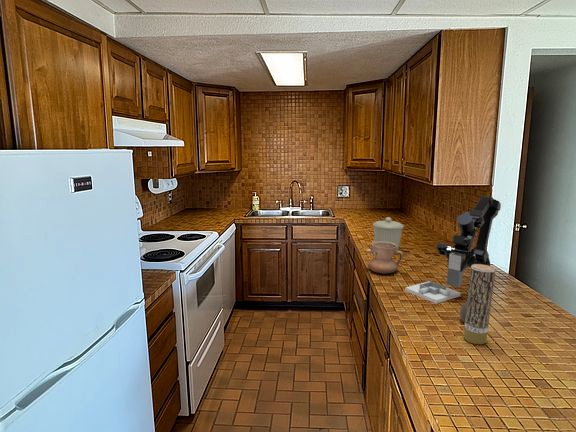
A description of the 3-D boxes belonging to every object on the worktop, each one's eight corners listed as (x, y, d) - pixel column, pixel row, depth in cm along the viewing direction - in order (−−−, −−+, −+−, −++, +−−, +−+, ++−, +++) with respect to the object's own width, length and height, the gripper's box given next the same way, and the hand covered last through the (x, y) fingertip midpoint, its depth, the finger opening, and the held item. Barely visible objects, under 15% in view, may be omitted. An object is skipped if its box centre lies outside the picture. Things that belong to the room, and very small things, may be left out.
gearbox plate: (428, 284, 175) (429, 277, 175) (460, 296, 162) (461, 288, 161) (405, 290, 167) (405, 283, 166) (436, 303, 154) (436, 295, 153)
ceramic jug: (366, 275, 187) (367, 247, 184) (364, 266, 201) (366, 239, 198) (403, 277, 184) (406, 249, 182) (399, 268, 198) (401, 241, 196)
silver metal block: (450, 281, 159) (453, 251, 157) (461, 284, 156) (465, 253, 154) (446, 284, 156) (449, 253, 154) (458, 287, 153) (461, 256, 151)
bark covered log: (466, 333, 130) (474, 262, 125) (488, 339, 125) (497, 267, 121) (460, 340, 124) (468, 267, 120) (483, 347, 120) (492, 272, 116)
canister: (405, 256, 221) (408, 220, 217) (374, 255, 221) (376, 219, 217) (397, 247, 238) (399, 214, 235) (368, 247, 239) (370, 214, 235)
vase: (468, 328, 133) (470, 304, 132) (454, 319, 140) (457, 297, 138) (484, 326, 135) (487, 302, 133) (470, 317, 142) (472, 295, 140)
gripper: (440, 224, 161) (427, 254, 155) (488, 231, 149) (476, 264, 143) (445, 239, 168) (433, 268, 162) (491, 246, 156) (480, 279, 150)
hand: (454, 269), depth 154 cm, fingers closed on silver metal block, 5 cm apart
